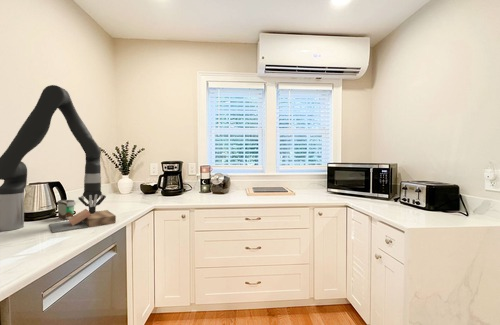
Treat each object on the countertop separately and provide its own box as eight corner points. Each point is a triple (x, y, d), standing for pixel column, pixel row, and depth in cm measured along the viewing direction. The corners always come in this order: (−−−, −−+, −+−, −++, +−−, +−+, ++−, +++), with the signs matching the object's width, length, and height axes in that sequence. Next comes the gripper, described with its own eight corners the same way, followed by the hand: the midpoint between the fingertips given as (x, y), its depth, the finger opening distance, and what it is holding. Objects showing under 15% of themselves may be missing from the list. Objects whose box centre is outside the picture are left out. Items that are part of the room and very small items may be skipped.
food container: (79, 218, 131) (79, 201, 131) (66, 221, 126) (67, 202, 126) (69, 215, 137) (70, 199, 137) (57, 217, 132) (57, 200, 132)
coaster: (72, 225, 115) (69, 222, 114) (70, 222, 120) (67, 219, 119) (91, 214, 121) (88, 210, 120) (88, 212, 126) (85, 208, 125)
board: (89, 227, 116) (89, 219, 115) (82, 220, 128) (82, 213, 128) (115, 222, 124) (115, 215, 124) (106, 216, 137) (106, 210, 137)
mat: (52, 233, 106) (52, 232, 106) (49, 224, 118) (49, 223, 118) (87, 227, 115) (87, 226, 115) (81, 220, 128) (81, 219, 128)
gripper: (78, 183, 117) (78, 216, 117) (108, 181, 126) (107, 212, 126) (76, 181, 122) (75, 214, 122) (104, 180, 131) (104, 210, 131)
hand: (92, 213), depth 124 cm, fingers closed
